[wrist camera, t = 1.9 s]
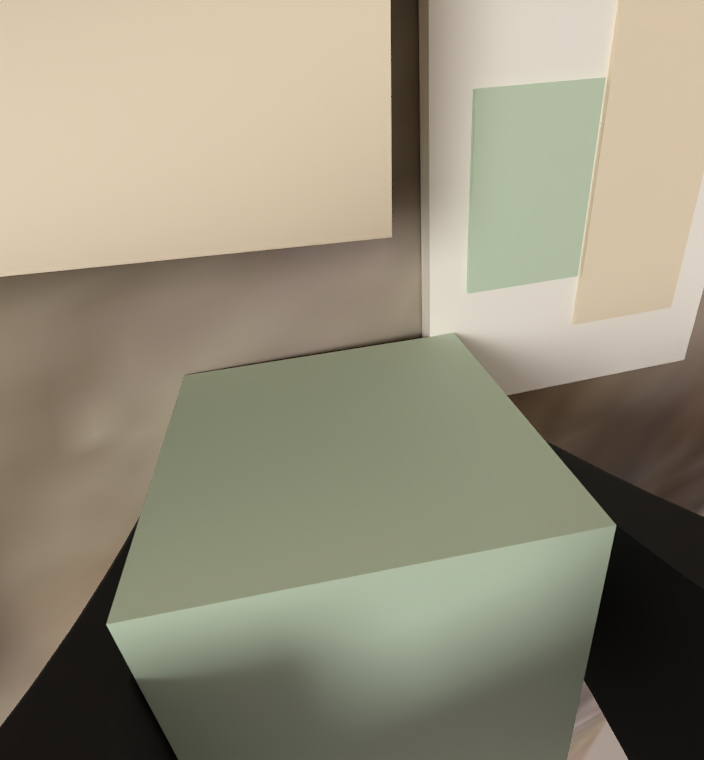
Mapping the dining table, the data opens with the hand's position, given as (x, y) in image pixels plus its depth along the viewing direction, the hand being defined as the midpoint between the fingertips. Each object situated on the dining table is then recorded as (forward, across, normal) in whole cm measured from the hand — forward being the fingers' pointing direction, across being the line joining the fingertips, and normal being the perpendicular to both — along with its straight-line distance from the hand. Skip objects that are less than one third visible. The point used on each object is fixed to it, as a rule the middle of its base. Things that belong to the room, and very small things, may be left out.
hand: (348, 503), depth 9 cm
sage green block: (+1, 0, 0) cm, 1 cm away
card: (+1, -5, -5) cm, 7 cm away
